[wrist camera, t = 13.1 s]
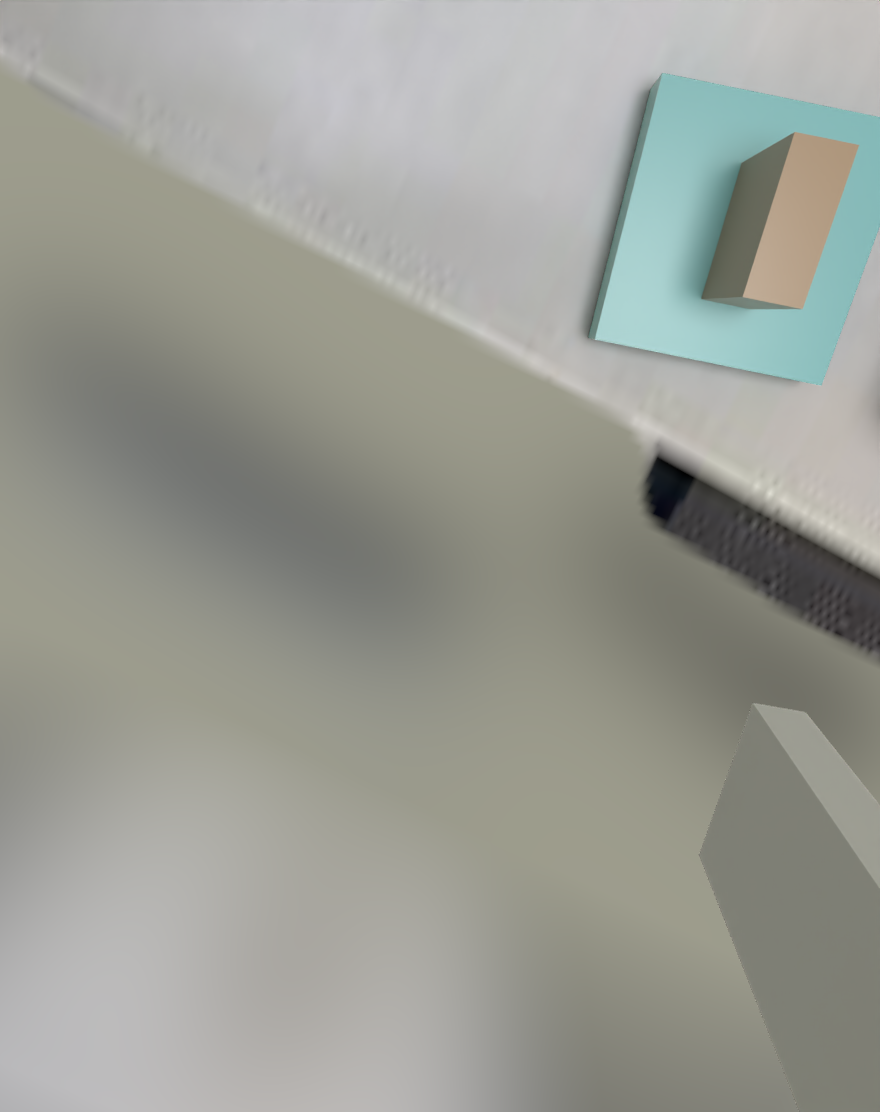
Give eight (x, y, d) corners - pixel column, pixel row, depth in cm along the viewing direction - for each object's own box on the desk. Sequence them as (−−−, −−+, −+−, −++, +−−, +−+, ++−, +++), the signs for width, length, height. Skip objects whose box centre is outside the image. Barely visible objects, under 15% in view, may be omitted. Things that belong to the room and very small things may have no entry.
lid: (650, 89, 34) (700, 21, 26) (887, 137, 34) (1010, 84, 26) (588, 337, 38) (614, 344, 30) (800, 380, 38) (884, 399, 30)
